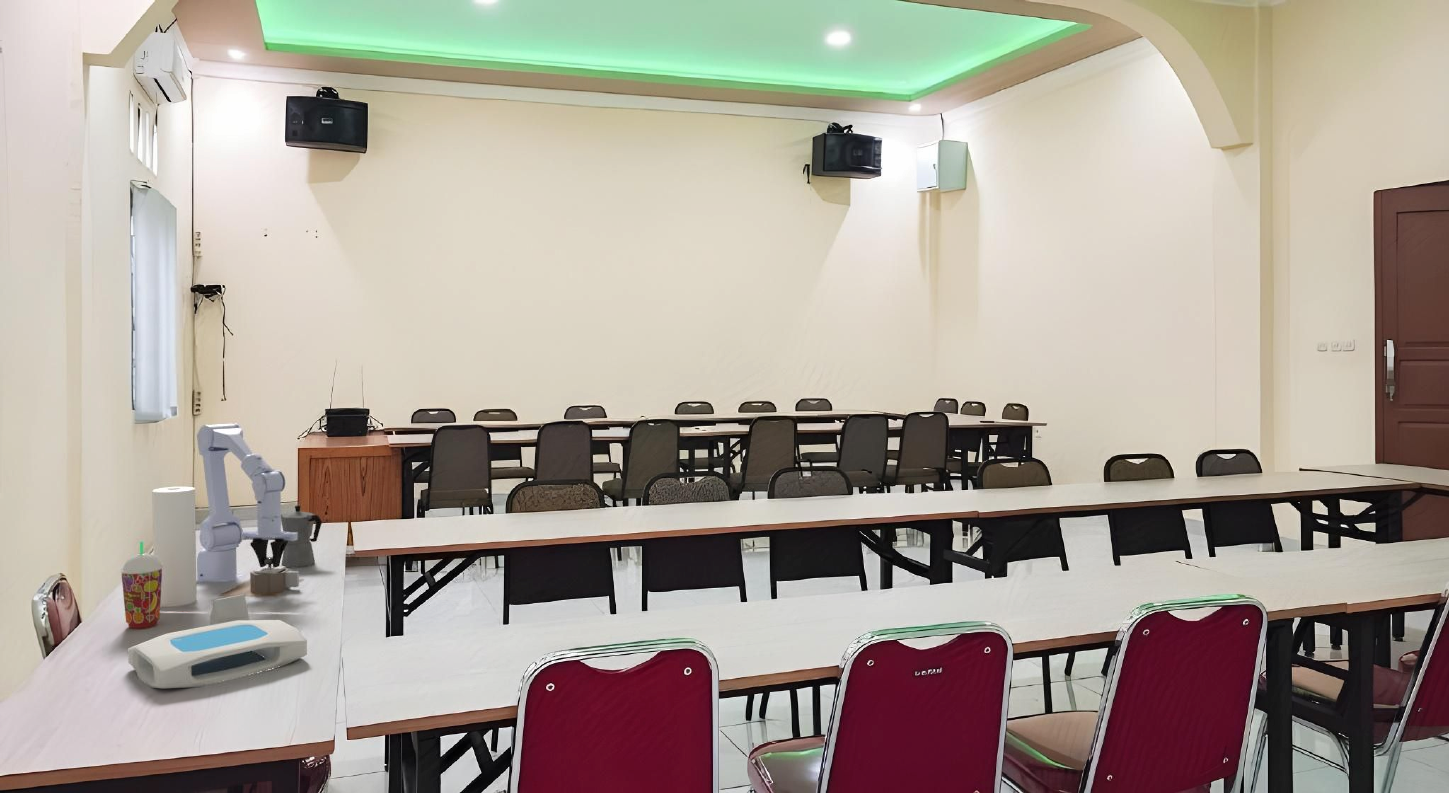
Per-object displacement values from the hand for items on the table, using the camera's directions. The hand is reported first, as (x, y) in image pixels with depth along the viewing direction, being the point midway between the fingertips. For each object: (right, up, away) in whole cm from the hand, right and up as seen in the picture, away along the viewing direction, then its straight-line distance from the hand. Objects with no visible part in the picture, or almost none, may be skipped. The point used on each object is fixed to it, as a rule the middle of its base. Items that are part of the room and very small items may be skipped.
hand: (269, 566), depth 257 cm
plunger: (0, -6, 0) cm, 6 cm away
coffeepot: (-6, -5, +32) cm, 33 cm away
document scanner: (+17, -11, -58) cm, 62 cm away
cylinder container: (-18, -8, -13) cm, 23 cm away
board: (-3, -7, +2) cm, 8 cm away
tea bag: (+11, -9, -42) cm, 45 cm away
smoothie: (-15, -9, -32) cm, 36 cm away
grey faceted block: (+1, -6, 0) cm, 6 cm away
